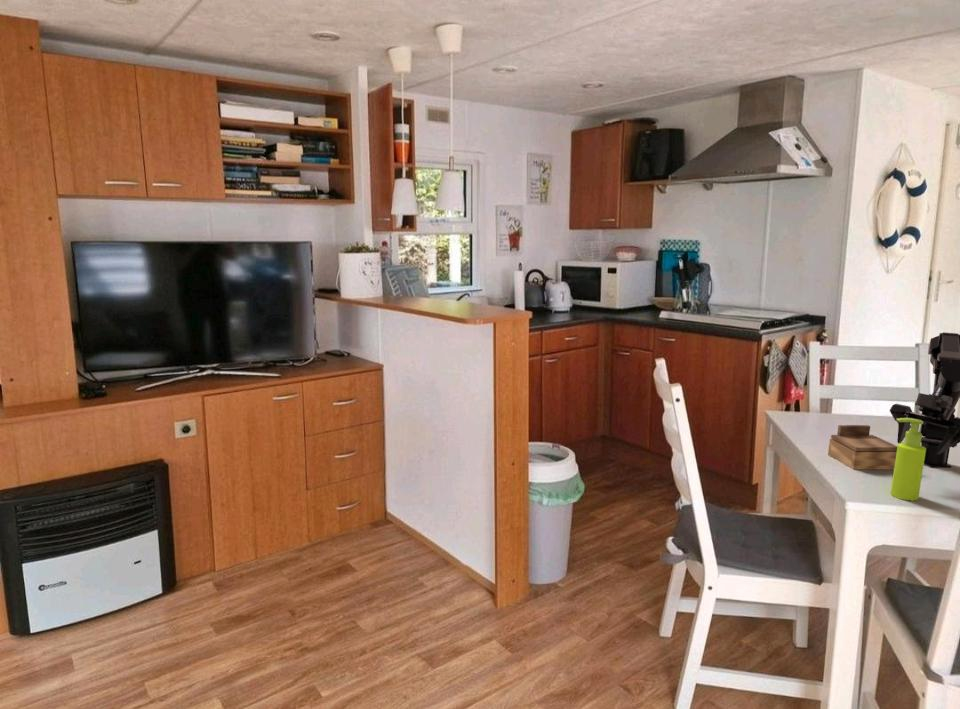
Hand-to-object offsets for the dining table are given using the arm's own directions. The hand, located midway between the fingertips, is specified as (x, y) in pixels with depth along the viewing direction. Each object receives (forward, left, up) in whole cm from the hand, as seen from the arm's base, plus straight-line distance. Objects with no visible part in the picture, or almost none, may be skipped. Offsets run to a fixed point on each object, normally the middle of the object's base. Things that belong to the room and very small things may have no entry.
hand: (917, 447), depth 165 cm
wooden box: (0, -20, -11) cm, 23 cm away
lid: (0, -20, -6) cm, 21 cm away
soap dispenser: (+6, +5, -11) cm, 14 cm away
